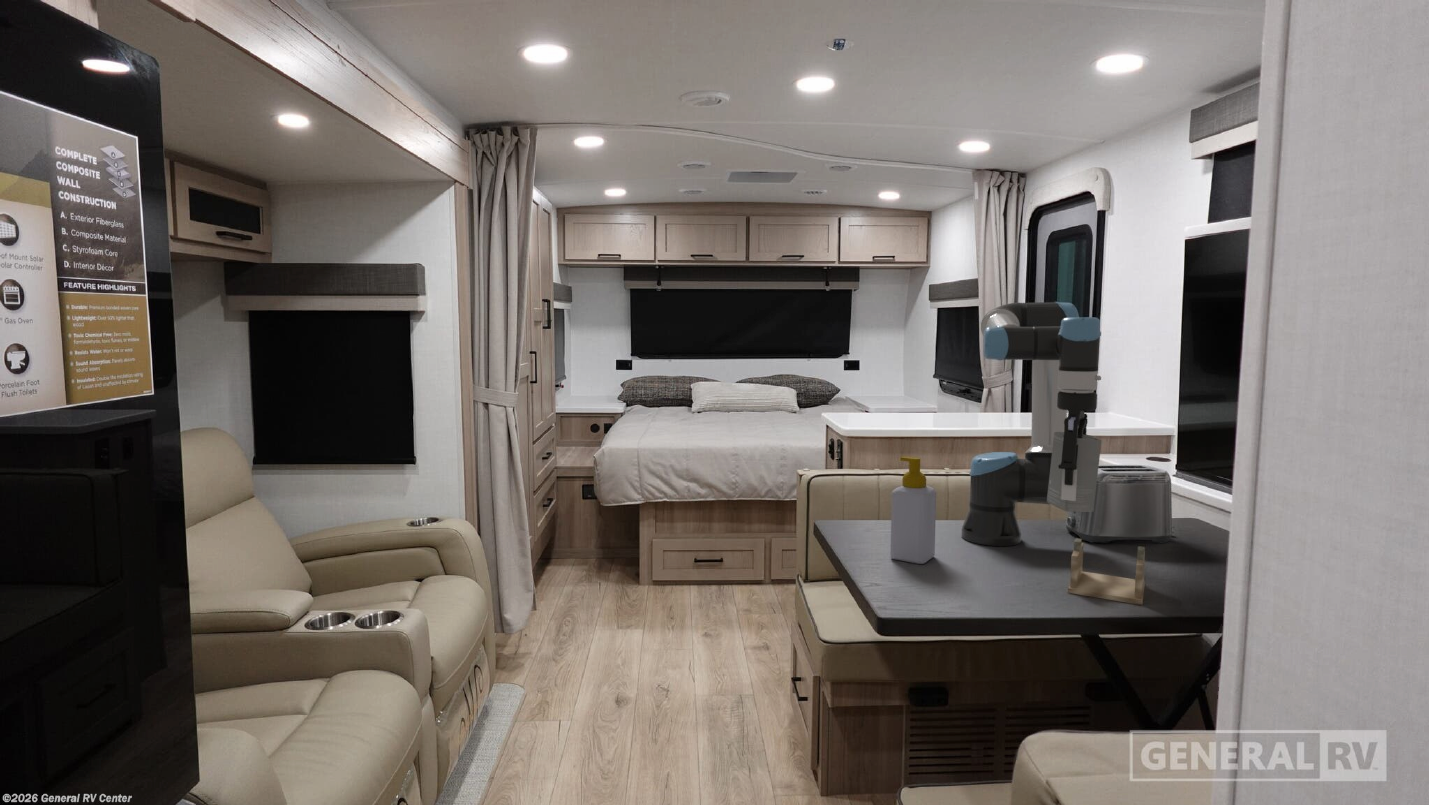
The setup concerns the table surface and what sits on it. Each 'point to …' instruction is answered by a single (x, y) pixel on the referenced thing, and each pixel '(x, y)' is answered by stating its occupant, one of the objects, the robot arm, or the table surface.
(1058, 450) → the skincare box
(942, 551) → the table surface
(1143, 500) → the toaster
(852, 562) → the table surface
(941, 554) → the table surface
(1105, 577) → the holder
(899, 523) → the soap bottle
